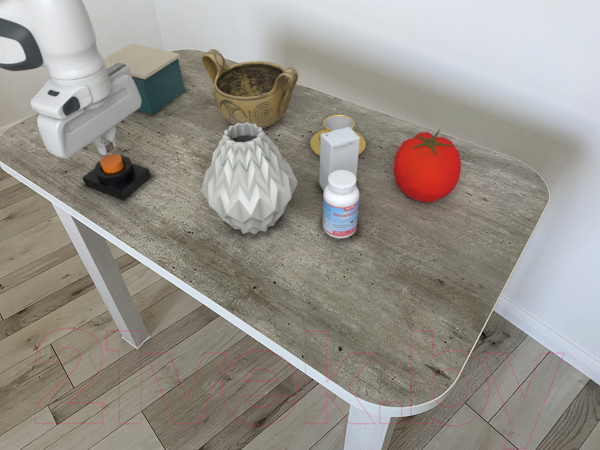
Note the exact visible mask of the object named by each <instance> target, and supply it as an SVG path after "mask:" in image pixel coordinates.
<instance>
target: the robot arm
mask: <svg viewBox="0 0 600 450" xmlns="http://www.w3.org/2000/svg"><path fill="white" fill-rule="evenodd" d="M103 59H104V58H103V56H102V55H101V53H100V51H99V49H98V46H97V36H96V32H95V29H94V26H93V23H92V21H91V18H90V15H89V12H88V10H87V8H86V6H85V3H84V2H83V0H0V69H2V70H5V71H9V72H21V71H22V72H23V71H30V70H36V69H38V68H41V67H43V68H45V69H46V71H47V72H48V75H49V78H48V79H47V80H46V82H45V83H44V85H43V86H42V87H41V88H40V89H39V91H38V92H37V93H36V94H35V95H34V96H33V97H32V99H31V100H30V106H31V108H32V110H33V111H34V112H35V113H38V115H37V119H36V120H37V122H36V123H37V128H38V131H39V134H40V137H41V139H42V142H43V144H44V146H45V148H46V150H47V152H48V153H49V154H51V155H53V156H55V157H57V158H60V159H64V160H68V159H69V158H71V157H72V156H73V155H75V154H76V153H78V152H79V151H81V150H82V149H84V148H85V147H87V145H88V146H89V144H92V145H93V146H95V147H96V149H97V152H98V153H99V155H102V156H107V155H108V154H109V153H110V152H112V150H114V149H116V147H117V144H116V142H115V139H116V132H117V128H116V126H117V125H118V124H120V123H121V122H122V121H123V120H125V119H127V117H129V116H130V115H132V114H133V113H135V112H136V111H138V109H139V108H140V107H141V103H142V99H141V96H140V94H139V91H138V89H137V86H136V84H135V82H134V80H133V79H132V76H131V72H130V69H129V67H128V66H127V65H126V64H123V63H116V64H114V65H113V66H112V67H110V68H108V69H106V66H105V63H104V60H103ZM103 134H104V139H103V140H102V135H103Z"/></svg>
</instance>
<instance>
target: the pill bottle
mask: <svg viewBox="0 0 600 450" xmlns="http://www.w3.org/2000/svg"><path fill="white" fill-rule="evenodd" d="M322 196H323V197H322V229H323V231H324V232H325V233H326V234H327V235H328V236H330V237H331V238H334V239H346V238H350V237H351V236H353V235H354V234H355V233H356V230H357V228H358V227H357V226H358V217H359V205H360V191H359V188H358V186H357V176H355V175H354V174H353V173H352V172H350V171H347V170H337V171H334V172H332V173H331V174H330V175H329V177H328V185H327V186H326V187H325V189H324V190H323V195H322Z"/></svg>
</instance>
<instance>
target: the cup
mask: <svg viewBox="0 0 600 450" xmlns="http://www.w3.org/2000/svg"><path fill="white" fill-rule="evenodd" d="M322 125H323V129H322V130H319V131H317V132H315V133H314V135H313V136H312V137H311V138H310V141H309V146H310V149H311V150H312V151H313V152H314V154H316V155H318V156H319V157H320V138H321V134H324V133H328V132H331V131H333V130H337V129H342V128H346V127H351V129H352V130H353V131H354V132H355V133H356V134H357V135H358V136H359V137H360V144H359V155H361V154H362V153H363V152H364V150H365V149H366V147H367V146H366V145H367V142H366V139H365V137H364V136H363V135H362V134H361V133H359V132H358V131H356V130H355V125H356V123H355V120H354V119H353V118H352V117H351V116H348V115H344V114H333V115H330V116H328V117H326V118H324V120H323V124H322Z"/></svg>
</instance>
